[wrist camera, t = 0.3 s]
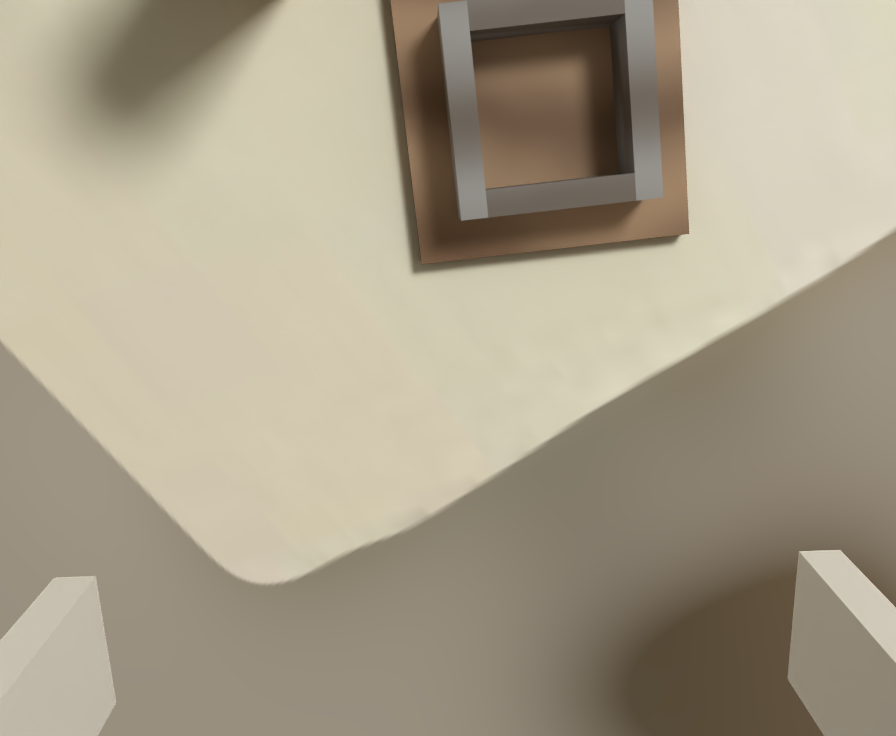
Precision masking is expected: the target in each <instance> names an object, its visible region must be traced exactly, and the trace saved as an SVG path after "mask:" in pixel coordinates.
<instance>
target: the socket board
mask: <svg viewBox="0 0 896 736" xmlns="http://www.w3.org/2000/svg"><path fill="white" fill-rule="evenodd" d="M391 9H392V17H393V26H394V34H395V43H396V51H397V60H398V68H399V77H400V85H401V94H402V102H403V111H404V119H405V128H406V136H407V145H408V153H409V162H410V170H411V179H412V187H413V196H414V204H415V213H416V221H417V230H418V238H419V247H420V255H421V264H429V263H438V262H446V261H455V260H464V259H473V258H481V257H490V256H499V255H507V254H516V253H525V252H534V251H542V250H551V249H560V248H569V247H577V246H586V245H595V244H603V243H612V242H621V241H630V240H638V239H647V238H656V237H664V236H673V235H682V234H689V221H688V200H687V178H686V157H685V135H684V114H683V92H682V71H681V50H680V28H679V7H678V0H391Z"/></svg>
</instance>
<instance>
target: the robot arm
mask: <svg viewBox="0 0 896 736" xmlns="http://www.w3.org/2000/svg"><path fill="white" fill-rule="evenodd" d="M794 602H795V603H794V613H793V624H792V635H791V636H792V637H791V646H790V658H789V668H788V680H789V682H790V683H791V685H792V686H793V688H794V689H795V691H796V692H797V694H798V696H799V697H800V699H801V700H802V702H803V703H804V705H805V706H806V708H807V710H808V711H809V713H810V714H811V716H812V717H813V719H814V721H815V722H816V724H817V725H818V727H819V728H820V730H821V731H822V733H823V735H824V736H896V608H895V606H894V605H893V604H892V603H891V602H890V601H889V600H888V599H887V598H886V597H885V596H884V595H883V594H882V593H881V592H880V591H879V590H878V589H877V588H876V587H875V586H874V585H873V584H872V583H871V582H870V581H869V580H868V579H867V577H866V576H865V575H864V574H863V573H862V572H861V571H860V570H859V569H858V568H857V567H856V566H855V565H854V564H853V563H852V562H851V561H850V560H849V559H848V558H847V557H846V556H845V555H844V554H843V553H842V552H841V551H840V550H827V551H826V550H824V551H799V558H798V568H797V579H796V590H795V601H794ZM115 704H116V698H115V692H114V686H113V680H112V674H111V668H110V662H109V655H108V649H107V643H106V638H105V631H104V624H103V618H102V612H101V607H100V600H99V594H98V588H97V582H96V576H88V577H87V576H86V577H58V578H54V579H53V580H52V581H51V582H50V583H49V585H48V586H47V587H46V588H45V589H44V590H43V592H42V593H41V594H40V595H39V596H38V597H37V598H36V600H35V601H34V602H33V603H32V604H31V606H30V607H29V608H28V609H27V610H26V611H25V613H24V614H23V615H22V616H21V617H20V618H19V619H18V621H17V622H16V623H15V624H14V625H13V626H12V628H11V629H10V630H9V631H8V632H7V633H6V635H5V636H4V637H3V638H2V639H1V640H0V736H98V734H99V732H100V731H101V729H102V727H103V725H104V723H105V722H106V720H107V718H108V716H109V715H110V713H111V711H112V709H113V707H114V706H115Z"/></svg>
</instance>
